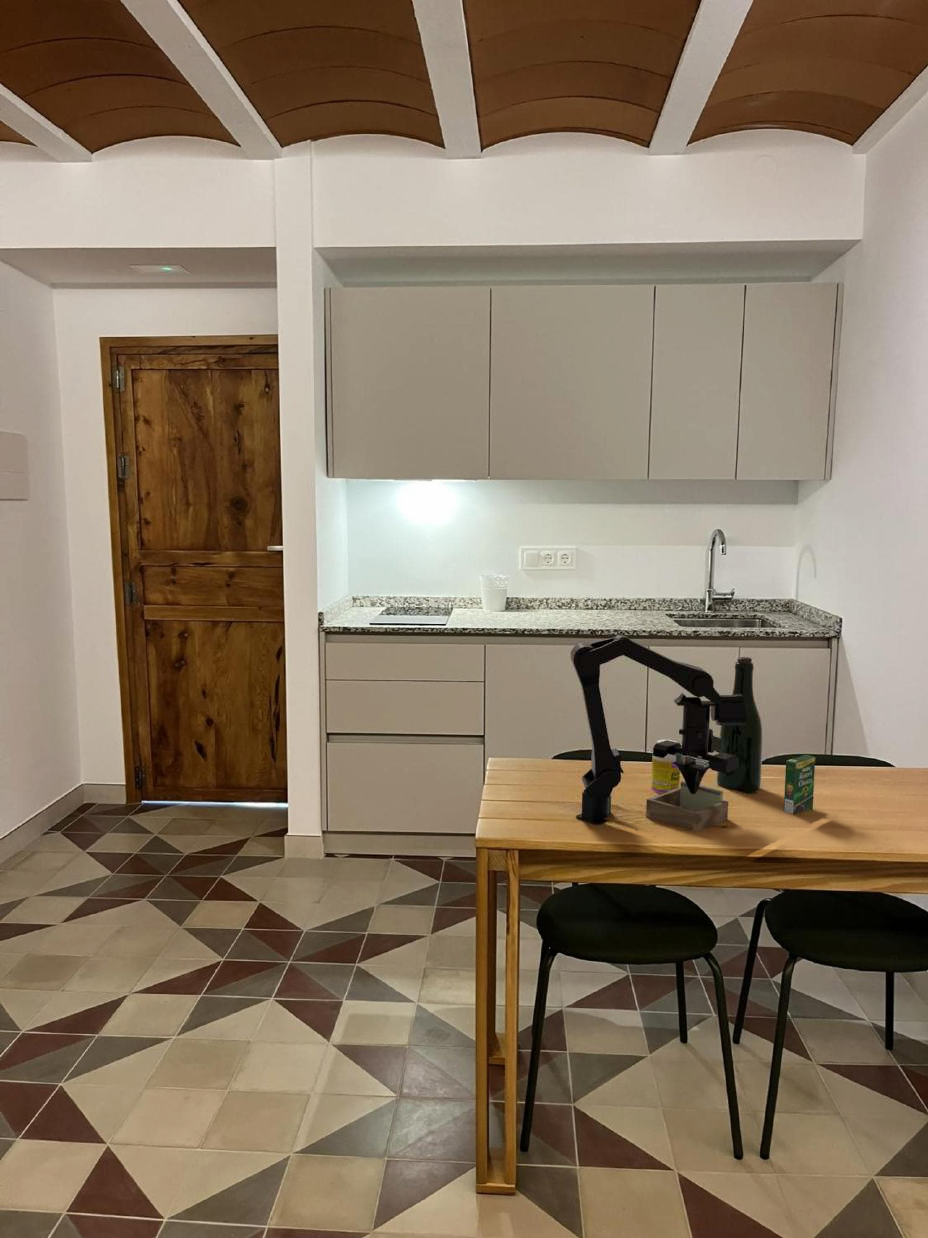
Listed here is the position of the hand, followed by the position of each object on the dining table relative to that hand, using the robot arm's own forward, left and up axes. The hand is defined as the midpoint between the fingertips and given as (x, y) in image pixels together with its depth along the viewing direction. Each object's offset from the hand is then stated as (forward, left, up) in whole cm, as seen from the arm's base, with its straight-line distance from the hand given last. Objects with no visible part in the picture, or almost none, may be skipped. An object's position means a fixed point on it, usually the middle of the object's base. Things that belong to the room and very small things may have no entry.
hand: (693, 793), depth 202 cm
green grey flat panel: (+4, 0, -5) cm, 6 cm away
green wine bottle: (+29, +5, -6) cm, 30 cm away
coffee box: (+22, -14, -6) cm, 27 cm away
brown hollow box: (-2, 0, -6) cm, 7 cm away
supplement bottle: (+12, +15, -6) cm, 20 cm away
